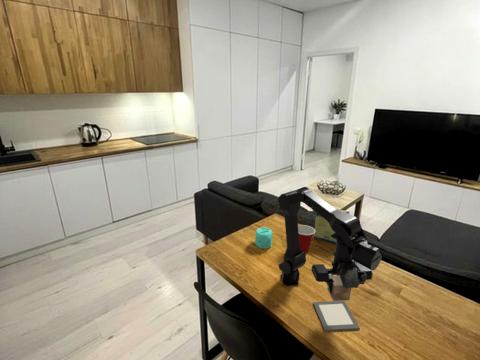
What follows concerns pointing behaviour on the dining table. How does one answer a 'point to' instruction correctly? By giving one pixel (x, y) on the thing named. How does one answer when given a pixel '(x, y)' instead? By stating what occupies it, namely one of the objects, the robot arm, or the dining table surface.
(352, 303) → the dining table surface
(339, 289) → the cube
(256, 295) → the dining table surface
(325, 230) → the protein box
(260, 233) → the turquoise cylinder
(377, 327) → the dining table surface
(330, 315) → the coaster
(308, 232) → the plastic cup
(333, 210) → the robot arm
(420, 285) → the dining table surface
